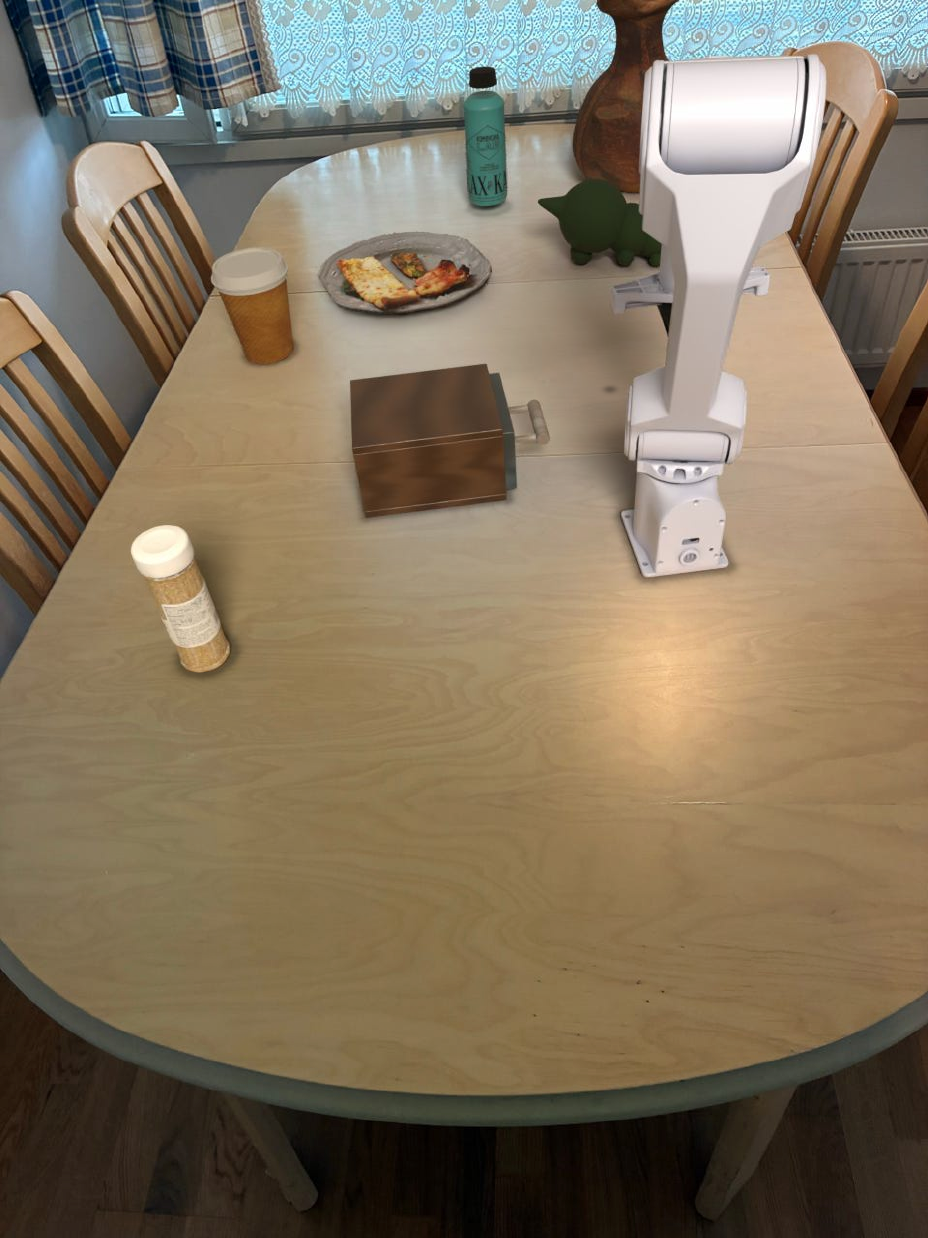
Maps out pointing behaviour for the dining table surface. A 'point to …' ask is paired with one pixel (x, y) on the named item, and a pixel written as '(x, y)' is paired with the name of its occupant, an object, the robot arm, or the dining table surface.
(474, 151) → the beverage bottle
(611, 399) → the dining table surface
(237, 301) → the disposable coffee cup
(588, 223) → the toy figurine
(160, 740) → the dining table surface
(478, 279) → the food plate
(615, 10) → the jug
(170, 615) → the spice jar
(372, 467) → the cabinet
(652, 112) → the robot arm
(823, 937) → the dining table surface
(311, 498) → the dining table surface
